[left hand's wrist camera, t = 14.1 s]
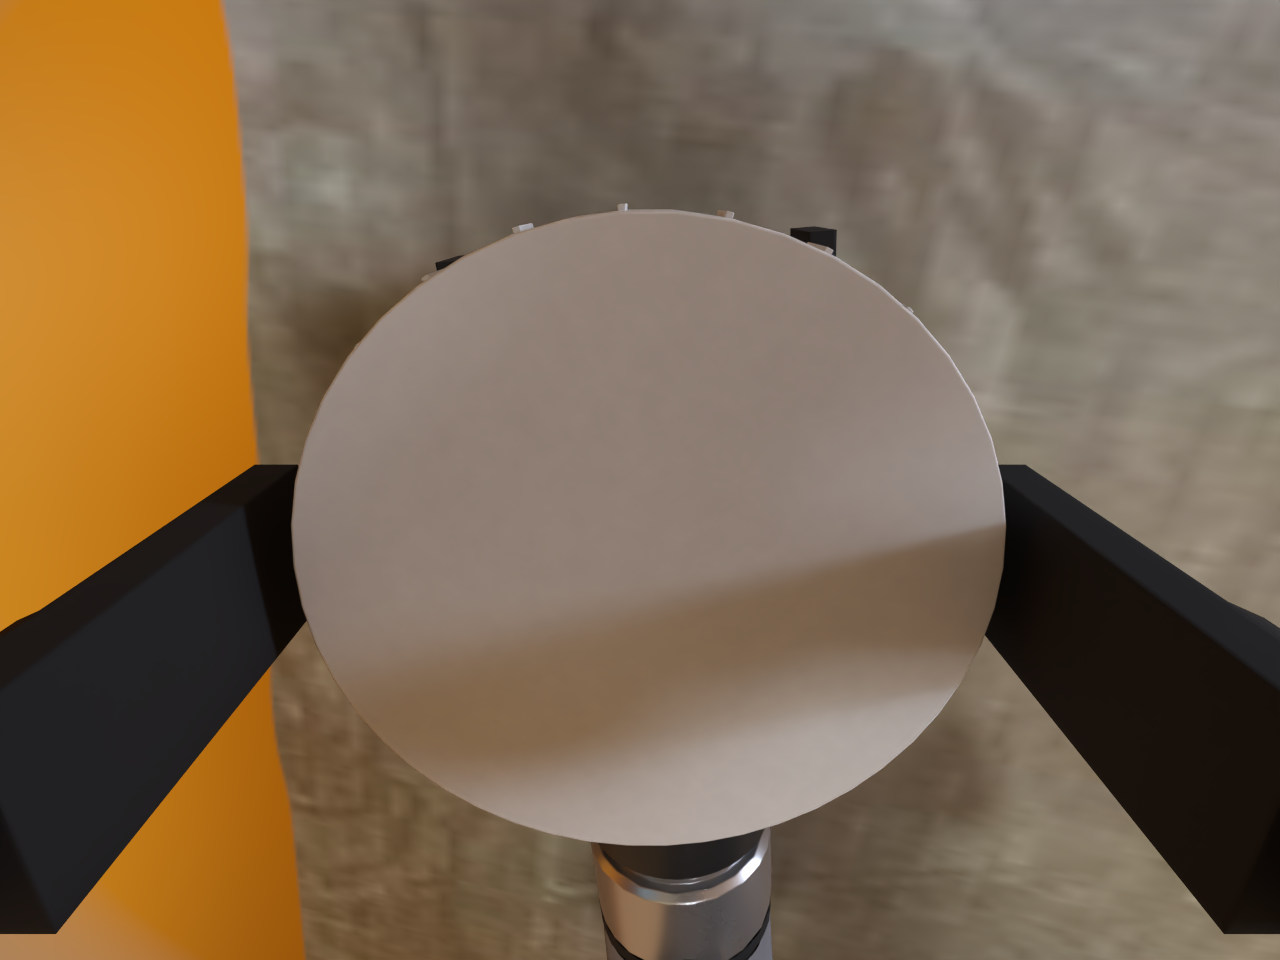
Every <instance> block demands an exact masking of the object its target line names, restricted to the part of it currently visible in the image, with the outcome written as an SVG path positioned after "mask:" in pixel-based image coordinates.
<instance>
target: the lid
mask: <svg viewBox="0 0 1280 960" xmlns="http://www.w3.org/2000/svg"><path fill="white" fill-rule="evenodd" d="M733 215H734V212H729V211H723V210H717V214H716V215H709V214H701V213H694V212H687V211H680V210H673V209H628V208H627V203H626V204H617V210H616V211H609V212H602V213H595V214H588V215H581V216H575V217H571V218H567V219H563V220H559V221H556V222H553V223H549V224H546V225H542V226H539V227H535V228H534V227H533V224H532V223H529V224H524V225H519V226H516V227H513V228H512V231H513V234H511V235H509V236H507V237H505V238H503V239H500V240H498V241H496V242H494V243H492V244H489V245H487V246H485V247H483V248H480V249H478V250H476V251H474V252H472V253H469V254H467V255H465V256H463V257H461V258H460V259H458V260H456V261H455V262H453V263H452V264H450V265H449V266H447V267H446V268H444V269H441V270H438V271H435V272H432V273H430V274H427V275H425V276H424V277H422V278H421V280H422V281H423V282H422V283H421V284H419V285H418V286H417V287H415V288H414V289H413V290H412V291H411V292H410V293H409V294H407V295H406V296H405V297H404V298H403V299H402V300H400V301H399V302H398V303H397V304H396V305H395V306H394V307H392V308H391V309H390V310H389V311H388V312H387V313H386V314H384V315H383V316H382V317H381V318H380V319H379V320H378V321H377V322H376V324H375V325H374V326H373V327H372V328H371V330H370V331H369V332H368V333H367V334H366V335H365V337H364V338H363V339H362V340H361V341H360V342H359V343H357V344H356V345H355V347H354V348H353V349H354V350H353V351H352V352H351V353H350V354H349V355H348V357H347V359H346V360H345V362H344V363H343V365H342V367H341V368H340V370H339V372H338V373H337V375H336V376H335V378H334V380H333V381H332V383H331V385H330V386H329V388H328V389H327V391H326V393H325V394H324V396H323V398H322V401H321V403H320V405H319V408H318V410H317V413H316V415H315V417H314V420H313V422H312V425H311V427H310V429H309V432H308V434H307V436H306V439H305V443H304V447H303V451H302V455H301V459H300V463H299V467H298V471H297V475H296V479H295V488H294V499H293V510H292V520H291V531H292V548H293V565H294V571H295V576H296V580H297V585H298V590H299V595H300V600H301V605H302V608H303V611H304V614H305V616H306V619H307V622H308V625H309V628H310V630H311V633H312V636H313V639H314V642H315V644H316V646H317V648H318V650H319V652H320V654H321V656H322V658H323V660H324V662H325V663H326V665H327V667H328V669H329V671H330V673H331V675H332V677H333V679H334V680H335V682H336V683H337V685H338V686H339V688H340V689H341V690H342V692H343V693H344V695H345V696H346V698H347V699H348V701H349V702H350V703H351V705H352V706H353V708H354V709H355V711H356V712H357V713H358V714H359V715H360V716H361V718H362V719H363V720H364V721H365V722H366V723H367V724H368V725H369V726H370V728H371V729H372V730H373V731H374V732H375V733H376V734H377V735H378V736H379V738H380V739H381V740H382V741H383V742H384V743H385V744H387V745H388V746H389V747H390V748H391V749H392V750H393V751H395V752H396V753H397V754H398V755H399V756H400V757H401V758H402V759H404V760H405V761H406V762H407V763H408V764H409V765H410V766H412V767H413V768H414V769H416V770H417V771H419V772H420V773H422V774H423V775H424V776H426V777H427V778H429V779H430V780H432V781H433V782H434V783H436V784H437V785H439V786H440V787H442V788H443V789H445V790H446V791H448V792H450V793H452V794H454V795H456V796H457V797H459V798H461V799H463V800H465V801H467V802H468V803H470V804H472V805H474V806H476V807H477V808H480V809H482V810H485V811H487V812H489V813H492V814H494V815H496V816H499V817H501V818H504V819H506V820H508V821H511V822H513V823H516V824H520V825H523V826H526V827H529V828H533V829H536V830H539V831H542V832H546V833H549V834H553V835H558V836H563V837H568V838H573V839H578V840H583V841H588V842H598V843H608V844H617V845H633V846H667V845H678V844H689V843H700V842H707V841H713V840H718V839H723V838H728V837H733V836H739V835H743V834H747V833H750V832H753V831H757V830H760V829H764V828H767V827H770V826H774V825H777V824H780V823H783V822H785V821H788V820H790V819H792V818H795V817H797V816H800V815H802V814H805V813H807V812H810V811H812V810H814V809H817V808H819V807H820V806H822V805H824V804H826V803H828V802H830V801H832V800H833V799H835V798H837V797H839V796H841V795H843V794H845V793H846V792H848V791H850V790H852V789H853V788H855V787H856V786H857V785H859V784H860V783H862V782H863V781H865V780H866V779H868V778H869V777H871V776H872V775H873V774H875V773H876V772H878V771H879V770H881V769H882V768H883V767H885V766H886V765H887V764H888V763H889V762H890V761H892V760H893V759H894V758H895V757H896V756H897V755H898V754H900V753H901V752H902V751H903V750H904V749H905V748H907V747H908V746H909V745H910V744H911V743H912V742H913V741H914V740H915V739H916V738H917V737H918V736H919V735H920V734H921V732H922V731H923V730H924V729H925V728H926V727H927V726H928V725H929V724H930V723H931V722H932V720H933V719H934V718H935V717H936V716H937V715H938V714H939V713H940V711H941V710H942V708H943V707H944V706H945V704H946V703H947V701H948V700H949V699H950V697H951V696H952V694H953V693H954V691H955V690H956V689H957V687H958V686H959V684H960V683H961V682H962V680H963V678H964V676H965V674H966V672H967V670H968V669H969V667H970V665H971V663H972V661H973V659H974V657H975V655H976V654H977V652H978V650H979V648H980V646H981V643H982V641H983V638H984V635H985V633H986V630H987V627H988V624H989V622H990V619H991V616H992V614H993V611H994V608H995V604H996V599H997V595H998V590H999V585H1000V581H1001V576H1002V571H1003V565H1004V549H1005V534H1006V519H1005V507H1004V495H1003V484H1002V478H1001V474H1000V470H999V466H998V462H997V458H996V454H995V450H994V446H993V441H992V438H991V435H990V433H989V431H988V428H987V426H986V423H985V421H984V419H983V416H982V414H981V411H980V409H979V407H978V404H977V402H976V399H975V397H974V395H973V393H972V392H971V390H970V389H969V387H968V385H967V384H966V382H965V380H964V379H963V377H962V375H961V374H960V372H959V371H958V369H957V367H956V366H955V364H954V362H953V361H952V359H951V357H950V356H949V355H948V353H947V352H946V351H945V350H944V349H943V348H942V346H941V345H940V344H939V343H938V342H937V340H936V339H935V338H934V337H933V336H932V335H931V333H930V332H929V331H928V330H927V329H926V327H925V326H924V325H923V324H922V323H921V322H920V320H919V319H918V318H917V317H916V316H915V315H913V314H912V313H913V311H912V309H911V308H910V307H908V306H905V305H903V304H901V303H900V302H899V301H897V300H896V299H895V298H894V297H893V296H892V295H891V294H889V293H888V292H887V291H886V290H885V289H884V288H883V287H881V286H880V285H879V284H877V283H876V282H874V281H873V280H871V279H870V278H868V277H866V276H865V275H863V274H862V273H860V272H859V271H857V270H856V269H854V268H852V267H851V266H849V265H848V264H846V263H845V262H843V261H841V260H840V259H838V258H837V257H835V256H833V255H831V254H832V252H833V250H832V249H830V248H829V247H826V246H822V245H818V244H814V243H810V242H807V243H804V242H802V241H800V240H798V239H795V238H793V237H791V236H789V235H787V234H784V233H780V232H777V231H773V230H770V229H766V228H763V227H759V226H756V225H752V224H749V223H746V222H742V221H739V220H735V219H733Z"/></svg>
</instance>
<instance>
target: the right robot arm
mask: <svg viewBox="0 0 1280 960" xmlns="http://www.w3.org/2000/svg"><path fill="white" fill-rule="evenodd" d="M836 232H837V230H834V229H827V228H821V227H803V228H791V237H793V238H795V239H798V240H800V241H802V242H804V243H807V242H810V243H814V244H818V245H822V246H826V247H829V248H830V249H832V250H833V252H832V254H831V255H833V256H835V257H836ZM463 256H465V255H463ZM463 256H457V257H453V258H450V259H447V260H443V261H440V262H437V263H436V268H437V271H438V270H441V269H444V268H446V267H447V266H449V265H450V264H452V263H453V262H455V261H456V260H458V259H460V258H461V257H463ZM591 847H592V854H593V860H594V867H595V873H596V880H597V886H598V893H599V902H600V907H601V912H602V918H603V922H604V931H605V941H606V951H607V960H773V959H772V942H771V925H770V893H771V831H770V827H767V828H764V829H760V830H757V831H753V832H750V833H747V834H743V835H739V836H733V837H728V838H723V839H718V840H713V841H707V842H700V843H689V844H678V845H667V846H633V845H617V844H608V843H598V842H591Z"/></svg>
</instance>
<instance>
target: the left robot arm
mask: <svg viewBox="0 0 1280 960" xmlns="http://www.w3.org/2000/svg"><path fill="white" fill-rule="evenodd" d="M998 466H999V470H1000V474H1001V478H1002V484H1003V495H1004V507H1005V519H1006V534H1005V549H1004V565H1003V571H1002V576H1001V581H1000V585H999V590H998V595H997V599H996V604H995V608H994V611H993V614H992V616H991V619H990V622H989V624H988V627H987V630H986V633H985V636H986V637H987V638H988V640H989V641H990V642H991V643H992V645H993V646H994V647H995V648H996V650H997V651H998V652H999V653H1000V655H1001V656H1002V657H1003V658H1004V660H1005V661H1006V662H1007V663H1008V665H1009V666H1010V667H1011V668H1012V670H1013V671H1014V672H1015V673H1016V675H1017V676H1018V677H1019V678H1020V680H1021V681H1022V682H1023V683H1024V685H1025V686H1026V687H1027V688H1028V689H1029V691H1030V692H1031V693H1032V694H1033V696H1034V697H1035V698H1036V699H1037V701H1038V702H1039V703H1040V704H1041V706H1042V707H1043V708H1044V709H1045V711H1046V712H1047V713H1048V714H1049V716H1050V717H1051V718H1052V719H1053V721H1054V722H1055V723H1056V724H1057V726H1058V727H1059V728H1060V729H1061V731H1062V732H1063V733H1064V734H1065V736H1066V737H1067V738H1068V739H1069V741H1070V742H1071V743H1072V744H1073V746H1074V747H1075V748H1076V749H1077V751H1078V752H1079V753H1080V754H1081V756H1082V757H1083V758H1084V759H1085V761H1086V762H1087V763H1088V764H1089V766H1090V767H1091V768H1092V769H1093V771H1094V772H1095V773H1096V774H1097V776H1098V777H1099V778H1100V779H1101V781H1102V782H1103V783H1104V784H1105V786H1106V787H1107V788H1108V789H1109V791H1110V792H1111V793H1112V794H1113V796H1114V797H1115V798H1116V799H1117V801H1118V802H1119V803H1120V804H1121V806H1122V807H1123V808H1124V809H1125V811H1126V812H1127V813H1128V814H1129V816H1130V817H1131V818H1132V819H1133V821H1134V822H1135V823H1136V824H1137V826H1138V827H1139V828H1140V829H1141V831H1142V832H1143V833H1144V834H1145V836H1146V837H1147V838H1148V839H1149V841H1150V842H1151V843H1152V844H1153V846H1154V847H1155V848H1156V849H1157V851H1158V852H1159V853H1160V854H1161V856H1162V857H1163V858H1164V859H1165V861H1166V862H1167V863H1168V864H1169V866H1170V867H1171V868H1172V869H1173V871H1174V872H1175V873H1176V874H1177V876H1178V877H1179V878H1180V879H1181V881H1182V882H1183V883H1184V884H1185V886H1186V887H1187V888H1188V889H1189V891H1190V892H1191V893H1192V894H1193V896H1194V897H1195V898H1196V899H1197V901H1198V902H1199V903H1200V904H1201V906H1202V907H1203V908H1204V909H1205V911H1206V912H1207V913H1208V914H1209V916H1210V917H1211V918H1212V919H1213V921H1214V922H1215V923H1216V924H1217V926H1218V927H1219V928H1220V929H1221V931H1222V932H1223V933H1224V934H1280V628H1279V627H1277V626H1276V625H1274V624H1272V623H1271V622H1269V621H1268V620H1266V619H1265V618H1263V617H1261V616H1259V615H1256V614H1254V613H1252V612H1250V611H1247V610H1245V609H1243V608H1241V607H1238V606H1236V605H1234V604H1232V603H1230V602H1227V601H1226V600H1224V599H1223V598H1221V597H1220V596H1218V595H1217V594H1216V593H1214V592H1213V591H1211V590H1210V589H1208V588H1207V587H1205V586H1204V585H1202V584H1201V583H1199V582H1198V581H1196V580H1195V579H1193V578H1192V577H1190V576H1189V575H1187V574H1186V573H1184V572H1183V571H1182V570H1180V569H1179V568H1177V567H1176V566H1174V565H1173V564H1171V563H1170V562H1168V561H1167V560H1165V559H1164V558H1162V557H1161V556H1159V555H1158V554H1156V553H1155V552H1153V551H1152V550H1151V549H1149V548H1148V547H1146V546H1145V545H1143V544H1142V543H1140V542H1139V541H1137V540H1136V539H1134V538H1133V537H1131V536H1130V535H1128V534H1127V533H1125V532H1124V531H1122V530H1121V529H1119V528H1118V527H1117V526H1115V525H1114V524H1112V523H1111V522H1109V521H1108V520H1106V519H1105V518H1103V517H1102V516H1100V515H1099V514H1097V513H1096V512H1094V511H1093V510H1091V509H1090V508H1088V507H1087V506H1085V505H1084V504H1083V503H1081V502H1080V501H1078V500H1077V499H1075V498H1074V497H1072V496H1071V495H1069V494H1068V493H1066V492H1065V491H1063V490H1062V489H1060V488H1059V487H1057V486H1056V485H1054V484H1053V483H1052V482H1050V481H1049V480H1047V479H1046V478H1044V477H1043V476H1041V475H1040V474H1038V473H1037V472H1035V471H1034V470H1032V469H1031V468H1029V467H1028V466H1026V465H998ZM297 471H298V465H254V466H252V467H251V468H249V469H248V470H246V471H245V472H243V473H242V474H240V475H239V476H237V477H236V478H234V479H233V480H231V481H230V482H228V483H227V484H226V485H224V486H223V487H221V488H220V489H218V490H217V491H215V492H214V493H212V494H211V495H209V496H208V497H206V498H205V499H203V500H202V501H200V502H199V503H197V504H196V505H195V506H193V507H192V508H190V509H189V510H187V511H186V512H184V513H183V514H181V515H180V516H178V517H177V518H175V519H174V520H172V521H171V522H169V523H168V524H167V525H165V526H163V527H162V528H161V529H159V530H158V531H156V532H155V533H153V534H152V535H150V536H149V537H147V538H146V539H144V540H143V541H141V542H140V543H138V544H137V545H135V546H134V547H133V548H131V549H129V550H128V551H127V552H125V553H124V554H122V555H121V556H119V557H118V558H116V559H115V560H113V561H112V562H110V563H109V564H107V565H106V566H104V567H103V568H101V569H100V570H99V571H97V572H96V573H94V574H93V575H91V576H90V577H88V578H87V579H85V580H84V581H82V582H81V583H79V584H78V585H76V586H75V587H73V588H72V589H70V590H69V591H67V592H66V593H65V594H63V595H62V596H60V597H59V598H57V599H56V600H54V601H53V602H51V603H50V604H48V605H47V606H45V607H44V608H42V609H41V610H39V611H37V612H35V613H33V614H31V615H29V616H26V617H24V618H22V619H20V620H17V621H16V622H14V623H13V624H11V625H10V626H8V627H7V628H5V629H4V630H2V631H1V632H0V934H56V933H57V932H58V931H59V929H60V928H61V927H62V926H63V924H64V923H65V922H66V921H67V919H68V918H69V917H70V916H71V914H72V913H73V912H74V911H75V909H76V908H77V907H78V906H79V904H80V903H81V902H82V901H83V899H84V898H85V897H86V896H87V894H88V893H89V892H90V891H91V889H92V888H93V887H94V886H95V884H96V883H97V882H98V881H99V879H100V878H101V877H102V876H103V874H104V873H105V872H106V871H107V869H108V868H109V867H110V866H111V864H112V863H113V862H114V861H115V859H116V858H117V857H118V856H119V854H120V853H121V852H122V851H123V849H124V848H125V847H126V846H127V844H128V843H129V842H130V841H131V839H132V838H133V837H134V836H135V834H136V833H137V832H138V831H139V829H140V828H141V827H142V826H143V824H144V823H145V822H146V821H147V819H148V818H149V817H150V816H151V814H152V813H153V812H154V811H155V809H156V808H157V807H158V806H159V804H160V803H161V802H162V801H163V799H164V798H165V797H166V796H167V794H168V793H169V792H170V791H171V789H172V788H173V787H174V786H175V784H176V783H177V782H178V781H179V779H180V778H181V777H182V776H183V774H184V773H185V772H186V771H187V769H188V768H189V767H190V766H191V764H192V763H193V762H194V761H195V759H196V758H197V757H198V756H199V754H200V753H201V752H202V751H203V749H204V748H205V747H206V746H207V744H208V743H209V742H210V741H211V739H212V738H213V737H214V736H215V734H216V733H217V732H218V731H219V729H220V728H221V727H222V726H223V724H224V723H225V722H226V721H227V719H228V718H229V717H230V716H231V714H232V713H233V712H234V711H235V709H236V708H237V707H238V706H239V704H240V703H241V702H242V701H243V699H244V698H245V697H246V696H247V694H248V693H249V692H250V691H251V689H252V688H253V687H254V686H255V684H256V683H257V682H258V681H259V680H260V678H261V677H262V676H263V674H264V673H265V672H266V671H267V669H268V668H269V667H270V666H271V665H272V663H273V662H274V661H275V660H276V658H277V657H278V656H279V655H280V653H281V652H282V651H283V650H284V648H285V647H286V646H287V645H288V643H289V642H290V641H291V640H292V638H293V637H294V636H295V635H296V633H297V632H298V631H299V630H300V628H301V627H302V626H303V625H304V623H305V622H306V621H307V619H306V616H305V614H304V611H303V608H302V605H301V600H300V595H299V590H298V585H297V580H296V576H295V571H294V565H293V548H292V531H291V520H292V510H293V499H294V488H295V479H296V475H297Z"/></svg>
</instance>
